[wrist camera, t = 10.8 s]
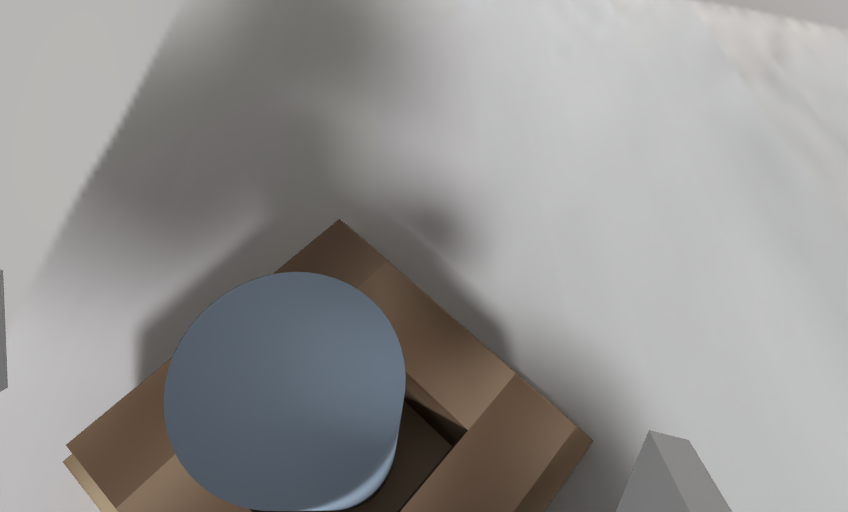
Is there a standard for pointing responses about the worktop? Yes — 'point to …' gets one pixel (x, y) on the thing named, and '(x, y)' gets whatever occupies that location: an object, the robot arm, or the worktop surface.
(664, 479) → the robot arm
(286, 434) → the dowel
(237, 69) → the worktop surface
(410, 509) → the socket block
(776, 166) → the worktop surface
